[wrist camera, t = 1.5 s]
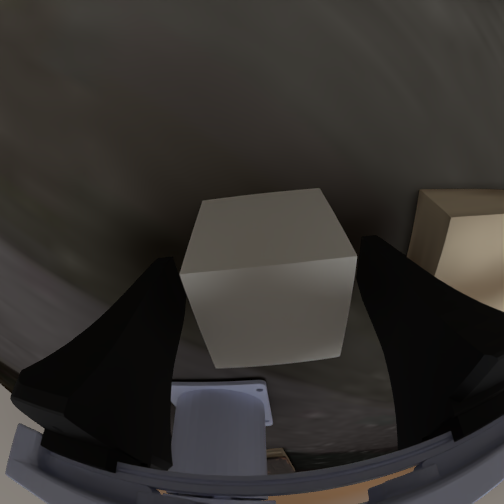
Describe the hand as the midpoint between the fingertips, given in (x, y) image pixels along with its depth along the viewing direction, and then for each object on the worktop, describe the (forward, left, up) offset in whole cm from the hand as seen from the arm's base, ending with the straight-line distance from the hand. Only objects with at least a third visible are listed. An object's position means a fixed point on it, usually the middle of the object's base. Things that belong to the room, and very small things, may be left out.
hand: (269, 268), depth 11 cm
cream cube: (0, 0, -2) cm, 2 cm away
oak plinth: (-3, -12, -2) cm, 13 cm away
